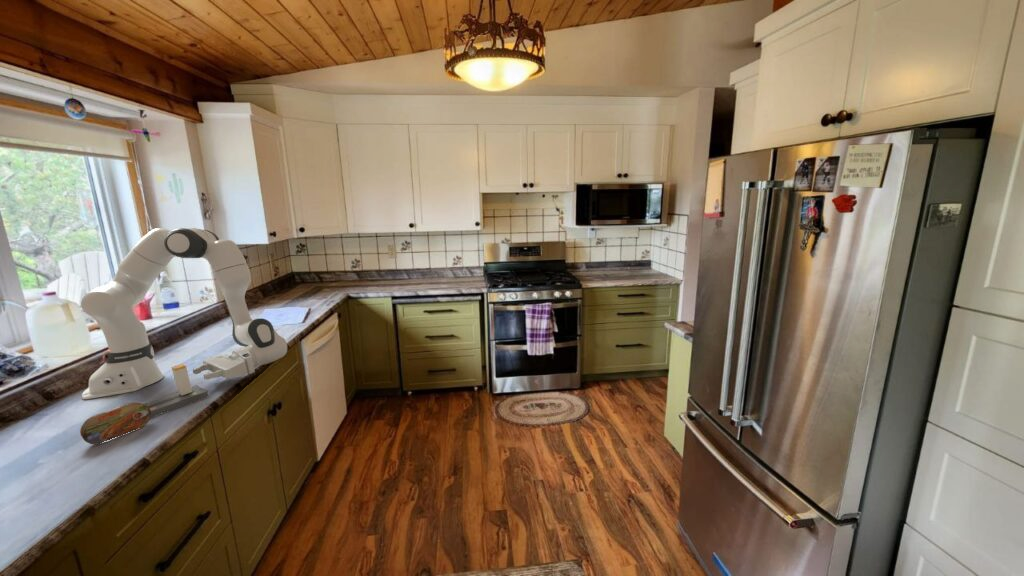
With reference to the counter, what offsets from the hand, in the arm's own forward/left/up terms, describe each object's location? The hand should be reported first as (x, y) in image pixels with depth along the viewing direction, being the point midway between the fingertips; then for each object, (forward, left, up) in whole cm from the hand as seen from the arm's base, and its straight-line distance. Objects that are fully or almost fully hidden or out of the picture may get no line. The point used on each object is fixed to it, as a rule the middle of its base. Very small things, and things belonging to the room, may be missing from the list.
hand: (198, 374), depth 142 cm
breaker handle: (-4, -2, -5) cm, 7 cm away
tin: (-18, -18, -7) cm, 26 cm away
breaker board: (-8, -4, -7) cm, 12 cm away
